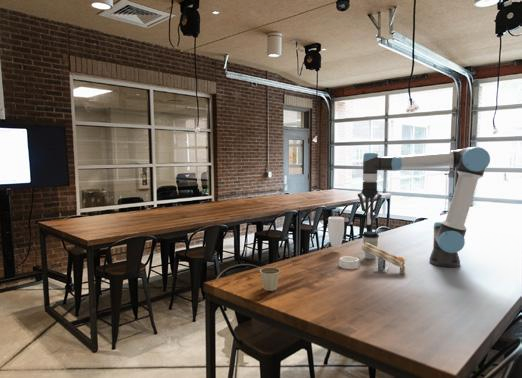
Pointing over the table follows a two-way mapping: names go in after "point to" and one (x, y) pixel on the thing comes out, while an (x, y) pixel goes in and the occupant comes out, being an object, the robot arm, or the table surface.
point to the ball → (400, 259)
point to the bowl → (349, 262)
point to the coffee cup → (370, 242)
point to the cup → (336, 231)
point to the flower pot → (270, 278)
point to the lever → (382, 254)
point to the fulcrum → (385, 267)
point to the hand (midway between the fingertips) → (368, 224)
